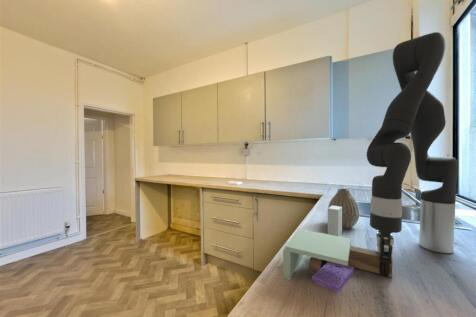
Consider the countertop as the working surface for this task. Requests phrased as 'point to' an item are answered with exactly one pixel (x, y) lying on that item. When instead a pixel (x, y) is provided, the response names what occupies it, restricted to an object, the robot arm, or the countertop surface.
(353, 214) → the vase
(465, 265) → the countertop surface
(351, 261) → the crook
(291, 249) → the wall shelf
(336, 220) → the skincare box
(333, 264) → the sponges
